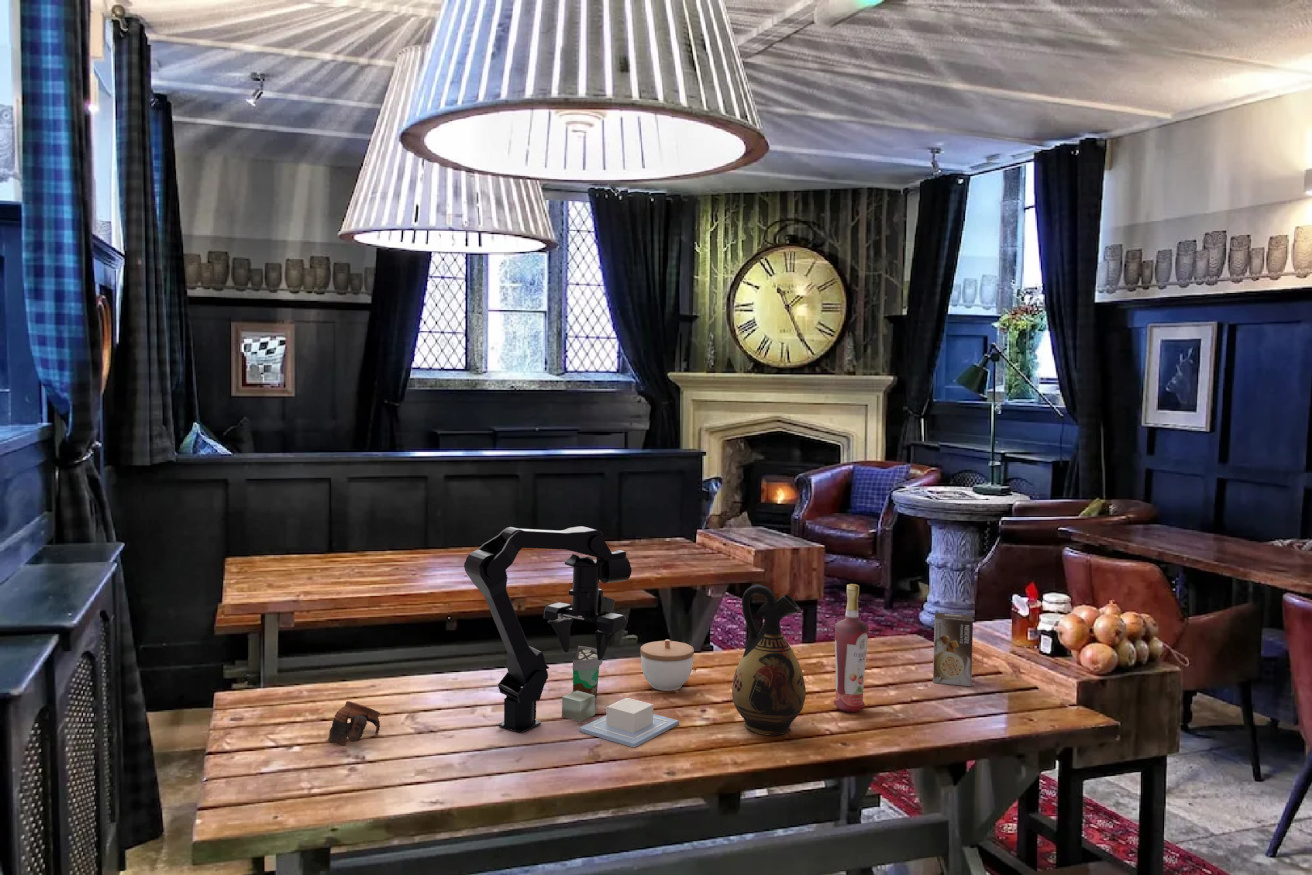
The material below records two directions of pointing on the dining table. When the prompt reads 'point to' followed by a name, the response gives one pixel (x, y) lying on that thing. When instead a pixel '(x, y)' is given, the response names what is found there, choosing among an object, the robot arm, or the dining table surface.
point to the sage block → (578, 706)
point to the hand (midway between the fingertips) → (583, 655)
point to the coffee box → (953, 649)
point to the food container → (586, 670)
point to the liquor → (850, 655)
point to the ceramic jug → (768, 669)
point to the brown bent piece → (352, 722)
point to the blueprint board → (627, 740)
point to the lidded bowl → (666, 664)
